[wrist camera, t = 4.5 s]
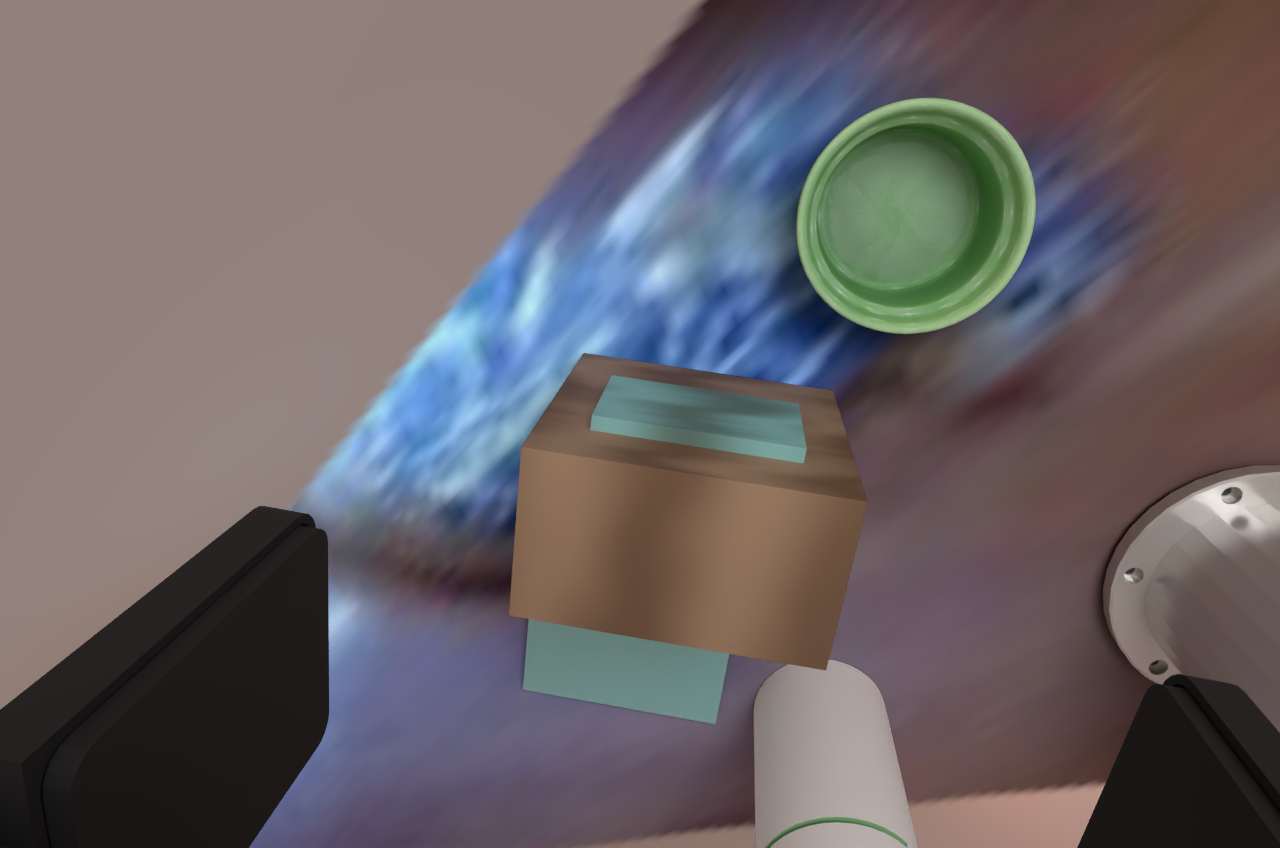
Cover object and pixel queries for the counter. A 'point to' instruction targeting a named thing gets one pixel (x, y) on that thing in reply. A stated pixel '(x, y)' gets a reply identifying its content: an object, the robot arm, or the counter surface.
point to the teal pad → (624, 671)
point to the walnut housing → (688, 511)
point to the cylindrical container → (826, 763)
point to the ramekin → (915, 216)
